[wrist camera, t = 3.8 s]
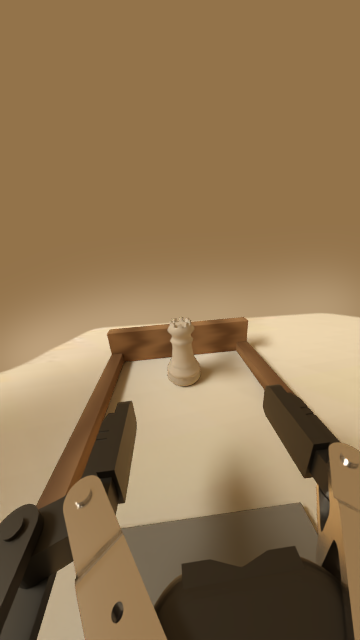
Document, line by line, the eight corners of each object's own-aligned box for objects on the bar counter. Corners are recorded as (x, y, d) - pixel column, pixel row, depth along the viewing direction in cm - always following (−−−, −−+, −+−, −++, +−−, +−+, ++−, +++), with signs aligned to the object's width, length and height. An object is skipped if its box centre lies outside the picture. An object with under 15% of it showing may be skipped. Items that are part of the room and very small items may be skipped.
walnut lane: (42, 522, 12) (11, 475, 10) (116, 357, 30) (110, 329, 28) (351, 478, 13) (374, 428, 11) (242, 344, 31) (243, 317, 29)
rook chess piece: (162, 373, 25) (155, 320, 22) (189, 362, 27) (186, 312, 24) (177, 393, 22) (172, 332, 19) (207, 379, 24) (207, 322, 21)
